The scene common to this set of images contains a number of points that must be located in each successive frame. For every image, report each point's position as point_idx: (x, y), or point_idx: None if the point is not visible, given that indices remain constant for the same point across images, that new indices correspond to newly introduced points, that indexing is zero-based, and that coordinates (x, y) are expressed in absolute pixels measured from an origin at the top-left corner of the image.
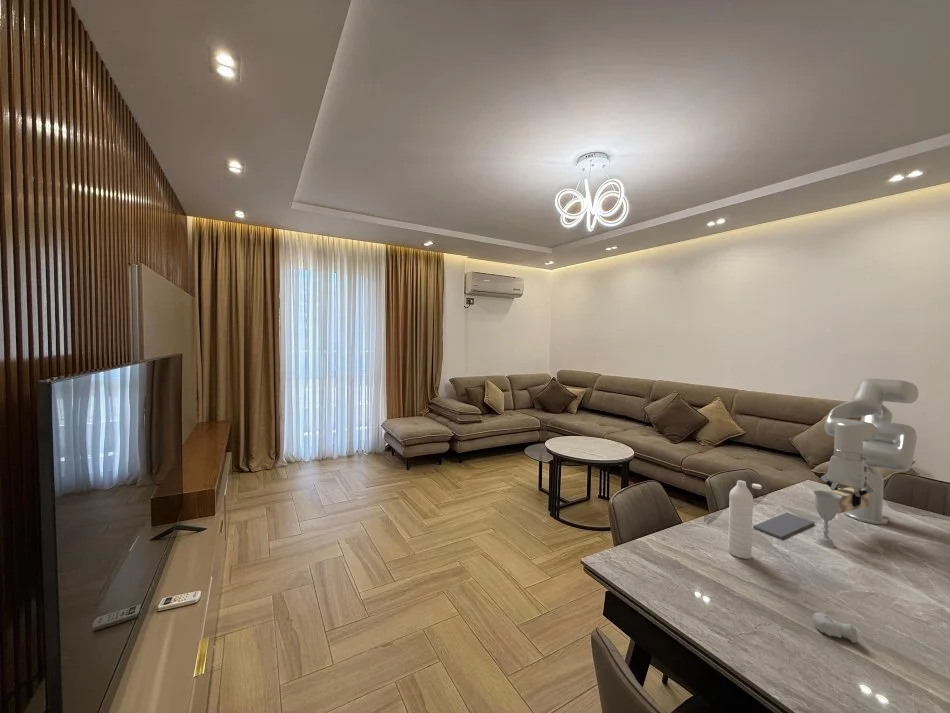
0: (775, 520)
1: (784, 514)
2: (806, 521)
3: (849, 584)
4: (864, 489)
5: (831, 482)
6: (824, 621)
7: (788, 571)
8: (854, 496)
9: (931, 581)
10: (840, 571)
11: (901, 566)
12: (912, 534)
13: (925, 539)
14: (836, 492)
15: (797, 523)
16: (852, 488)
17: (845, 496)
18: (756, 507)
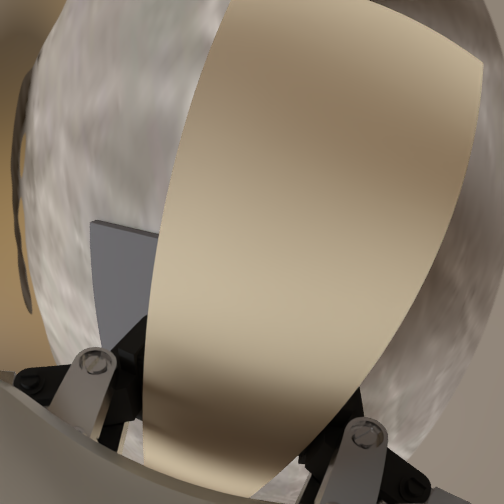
0: (109, 335)
1: (93, 252)
2: (152, 263)
3: (301, 481)
4: (426, 31)
5: (43, 402)
6: None
7: None
8: (303, 460)
9: (437, 401)
10: (288, 466)
11: (408, 382)
12: (450, 30)
13: (479, 56)
14: (180, 474)
15: (145, 313)
16: (253, 155)
17: (246, 495)
18: (44, 234)
